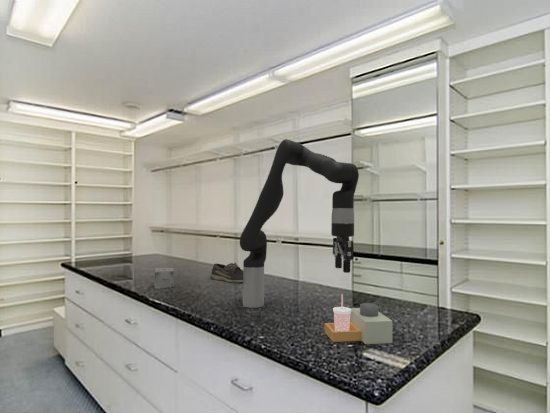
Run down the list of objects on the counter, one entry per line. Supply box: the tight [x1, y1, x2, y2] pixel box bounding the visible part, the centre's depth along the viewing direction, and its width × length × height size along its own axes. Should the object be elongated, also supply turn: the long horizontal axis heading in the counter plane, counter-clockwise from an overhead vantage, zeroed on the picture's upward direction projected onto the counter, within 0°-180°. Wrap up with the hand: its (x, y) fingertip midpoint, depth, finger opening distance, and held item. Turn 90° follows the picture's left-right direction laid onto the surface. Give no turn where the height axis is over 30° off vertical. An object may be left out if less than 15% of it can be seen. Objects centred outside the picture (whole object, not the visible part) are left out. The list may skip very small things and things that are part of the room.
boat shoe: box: [210, 262, 243, 284], centre depth 213 cm, size 11×29×11 cm, turn 63°
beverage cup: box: [332, 293, 351, 331], centre depth 120 cm, size 6×6×14 cm
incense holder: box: [154, 266, 175, 290], centre depth 193 cm, size 10×8×10 cm
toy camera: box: [324, 302, 393, 345], centre depth 121 cm, size 19×16×10 cm
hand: (342, 270), depth 120 cm, fingers open, 8 cm apart
